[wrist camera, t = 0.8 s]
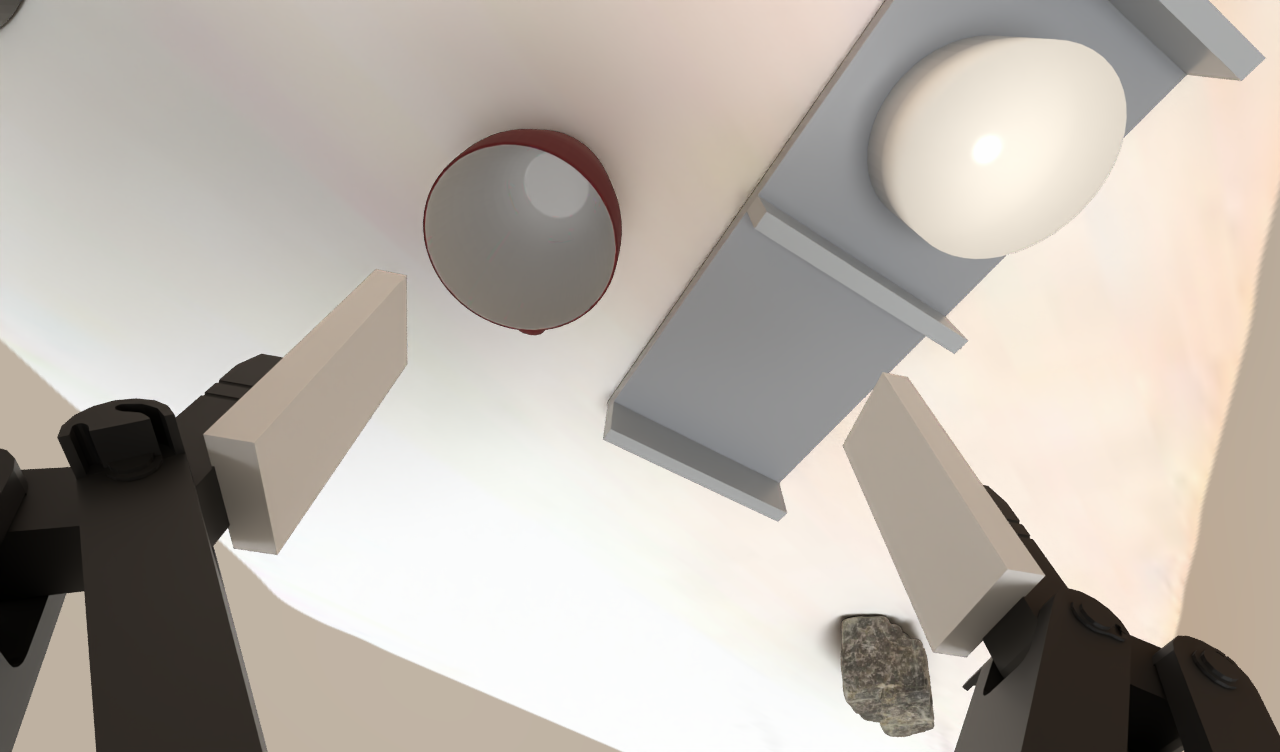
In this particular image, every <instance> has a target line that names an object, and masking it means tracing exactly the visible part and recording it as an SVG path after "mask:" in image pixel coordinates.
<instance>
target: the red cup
mask: <svg viewBox="0 0 1280 752" xmlns="http://www.w3.org/2000/svg"><path fill="white" fill-rule="evenodd" d="M423 232H424V240H425V245H426V249H427V253H428V256H429V259H430V261H431V263H432V266H433V268H434V270H435V272H436V274H437V275H438V277H439V278H440V280H441V282H442V283H443V284H444V286H445V287H446V288H447V290H448V291H449V292H450V293H451V294H452V295H453V296H454V297H455V298H456V299H457V300H458V301H459V302H460V303H461V304H462V305H464V306H465V307H466V308H467V309H469V310H470V311H472V312H473V313H475V314H476V315H478V316H480V317H482V318H483V319H485V320H487V321H490V322H492V323H494V324H497V325H500V326H503V327H507V328H511V329H517V330H519V331H521V332H522V333H525V334H528V335H539V334H541V333H543V332H544V331H545V330H548V329H553V328H557V327H561V326H563V325H566V324H569V323H571V322H573V321H575V320H577V319H578V318H580V317H582V316H583V315H584V314H586V313H587V312H588V311H590V310H591V309H592V308H593V307H594V306H595V305H596V304H597V303H598V301H599V300H600V299H601V298H602V296H603V295H604V293H605V292H606V290H607V288H608V287H609V285H610V283H611V280H612V278H613V275H614V272H615V269H616V265H617V261H618V256H619V251H620V246H621V236H622V222H621V214H620V209H619V204H618V200H617V197H616V194H615V191H614V189H613V187H612V184H611V182H610V180H609V177H608V175H607V173H606V171H605V169H604V167H603V165H602V164H601V162H600V161H599V159H598V158H597V157H596V156H595V154H594V153H593V152H592V151H591V150H590V149H589V148H588V147H586V146H585V145H584V144H583V143H581V142H580V141H578V140H576V139H575V138H573V137H571V136H568V135H566V134H563V133H560V132H556V131H550V130H537V129H518V130H510V131H505V132H500V133H497V134H494V135H491V136H489V137H487V138H485V139H483V140H480V141H479V142H477V143H475V144H474V145H472V146H471V147H469V148H468V149H466V150H465V151H464V152H463V153H461V154H460V155H459V156H458V157H456V158H455V159H454V160H453V161H452V162H451V163H450V164H449V165H448V166H447V167H446V168H445V169H444V170H443V171H442V172H441V174H440V175H439V176H438V178H437V179H436V181H435V183H434V184H433V186H432V188H431V190H430V193H429V195H428V198H427V201H426V205H425V210H424V219H423Z"/></svg>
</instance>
